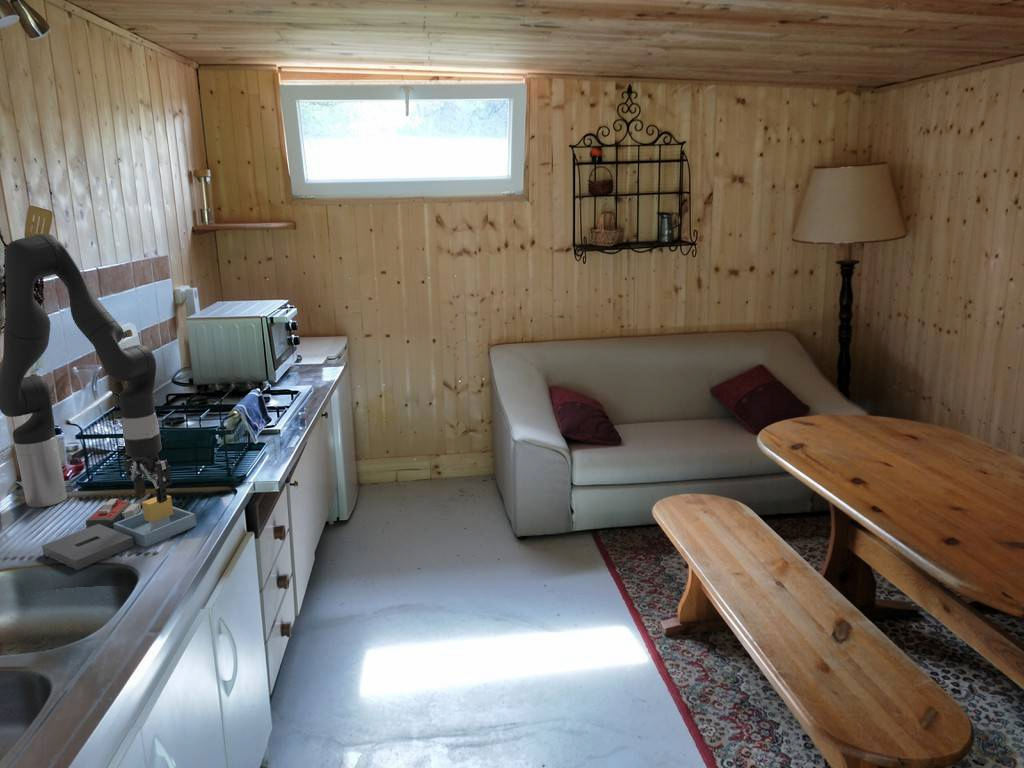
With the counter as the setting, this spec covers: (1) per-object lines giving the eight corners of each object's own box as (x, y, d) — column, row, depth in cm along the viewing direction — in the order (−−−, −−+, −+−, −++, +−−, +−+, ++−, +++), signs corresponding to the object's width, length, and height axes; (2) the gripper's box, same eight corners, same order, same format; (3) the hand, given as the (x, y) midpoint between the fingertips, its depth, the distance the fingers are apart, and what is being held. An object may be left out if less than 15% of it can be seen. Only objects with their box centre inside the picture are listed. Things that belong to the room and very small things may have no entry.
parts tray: (115, 535, 184) (113, 523, 183) (166, 514, 194) (164, 503, 193) (145, 547, 177) (143, 535, 176) (196, 525, 188) (194, 513, 187)
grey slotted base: (43, 554, 175) (41, 545, 174) (100, 532, 185) (98, 523, 185) (77, 570, 168) (75, 560, 167) (134, 545, 178) (132, 537, 177)
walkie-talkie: (120, 533, 186) (154, 499, 205) (117, 515, 185) (151, 483, 204) (82, 534, 186) (120, 500, 205) (79, 517, 184) (117, 484, 204)
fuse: (146, 529, 185) (141, 502, 183) (167, 520, 190) (163, 493, 188) (153, 532, 183) (149, 504, 182) (175, 523, 188) (170, 496, 186)
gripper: (108, 432, 180) (119, 497, 184) (144, 442, 173) (155, 510, 177) (138, 423, 186) (148, 486, 191) (175, 433, 179) (184, 498, 183)
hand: (151, 498), depth 184 cm, fingers open, 8 cm apart
